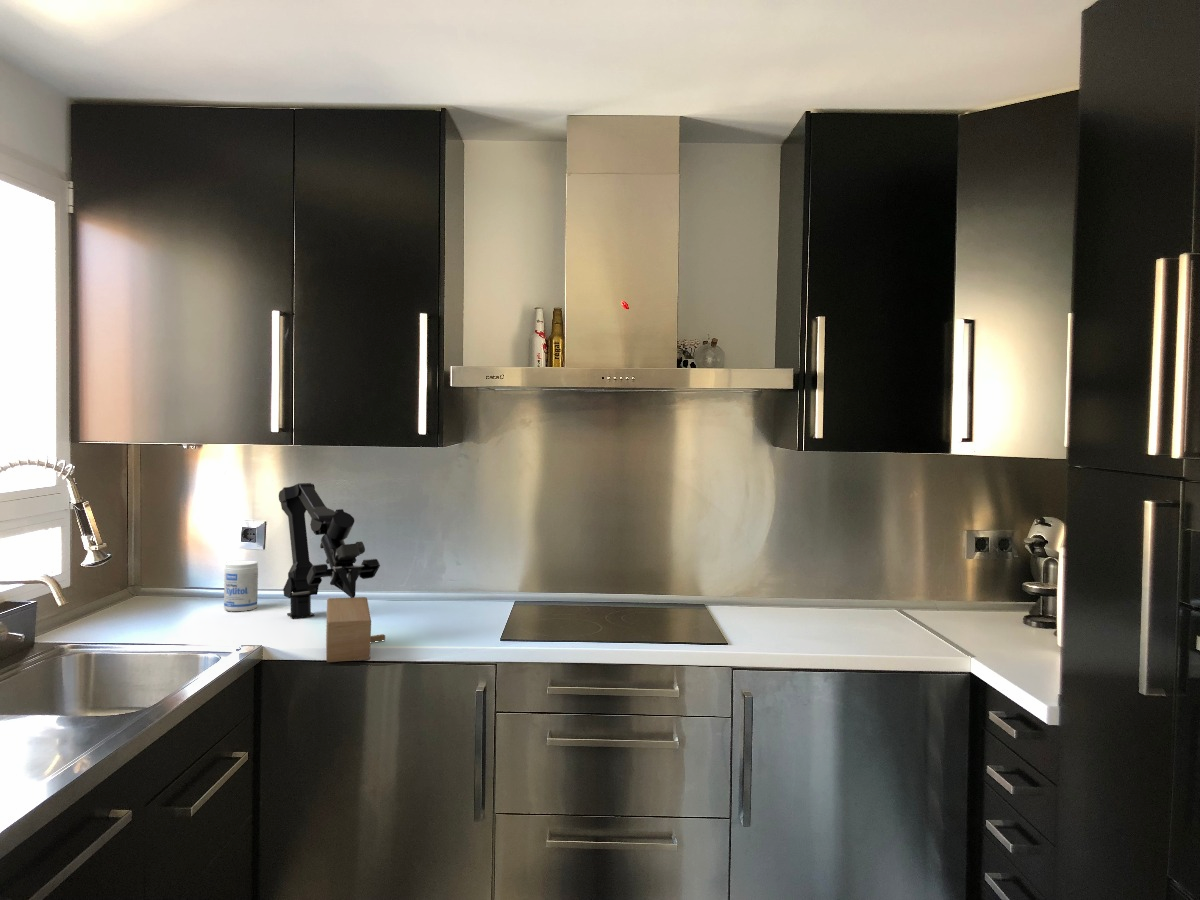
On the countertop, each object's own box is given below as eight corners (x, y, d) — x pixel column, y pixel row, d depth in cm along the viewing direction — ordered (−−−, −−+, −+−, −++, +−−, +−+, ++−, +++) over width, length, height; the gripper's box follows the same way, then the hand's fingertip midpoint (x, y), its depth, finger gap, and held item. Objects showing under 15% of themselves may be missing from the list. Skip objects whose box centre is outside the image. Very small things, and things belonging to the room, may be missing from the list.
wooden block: (365, 633, 207) (369, 660, 188) (326, 635, 203) (326, 663, 185) (367, 596, 206) (371, 620, 187) (327, 597, 203) (327, 622, 184)
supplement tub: (222, 613, 237) (222, 565, 237) (225, 607, 246) (225, 560, 246) (257, 611, 241) (257, 563, 241) (258, 604, 250) (258, 559, 249)
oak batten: (329, 647, 199) (329, 641, 199) (383, 639, 207) (383, 634, 207) (331, 648, 198) (331, 643, 198) (385, 641, 206) (385, 635, 206)
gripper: (310, 535, 204) (328, 582, 196) (377, 529, 217) (395, 574, 209) (299, 561, 210) (315, 608, 202) (364, 554, 223) (382, 599, 215)
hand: (353, 596), depth 207 cm, fingers closed
